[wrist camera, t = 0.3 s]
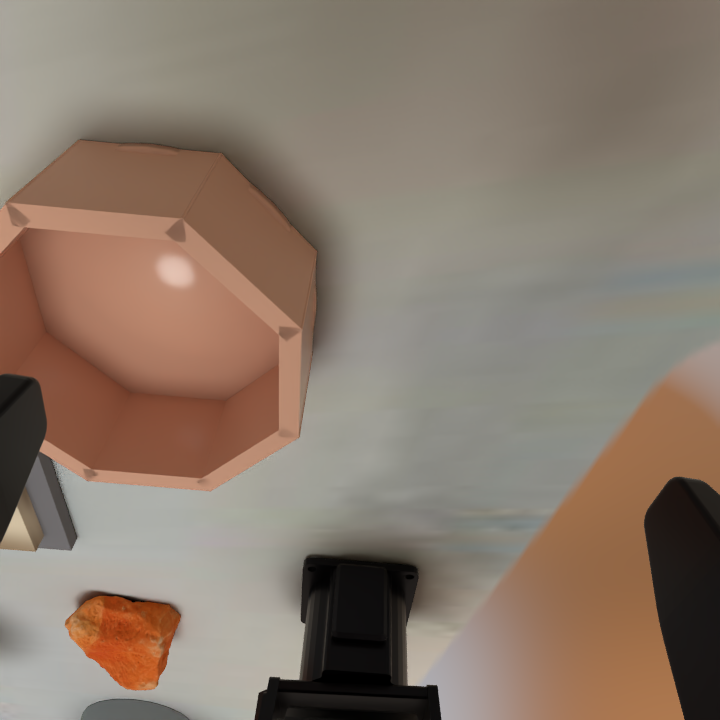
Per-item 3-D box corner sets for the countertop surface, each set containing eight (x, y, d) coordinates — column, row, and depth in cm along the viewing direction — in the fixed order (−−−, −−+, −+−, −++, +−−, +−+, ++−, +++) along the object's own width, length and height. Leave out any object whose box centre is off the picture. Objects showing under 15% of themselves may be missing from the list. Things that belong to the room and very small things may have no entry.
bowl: (311, 411, 28) (299, 500, 24) (53, 389, 28) (-2, 475, 24) (323, 160, 21) (308, 227, 17) (-26, 127, 20) (-124, 187, 17)
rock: (37, 531, 36) (1, 600, 32) (245, 575, 38) (231, 643, 34) (39, 632, 43) (9, 696, 39) (214, 664, 45) (200, 728, 41)
